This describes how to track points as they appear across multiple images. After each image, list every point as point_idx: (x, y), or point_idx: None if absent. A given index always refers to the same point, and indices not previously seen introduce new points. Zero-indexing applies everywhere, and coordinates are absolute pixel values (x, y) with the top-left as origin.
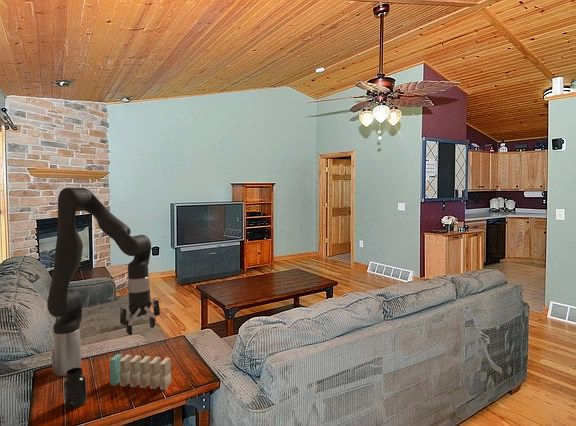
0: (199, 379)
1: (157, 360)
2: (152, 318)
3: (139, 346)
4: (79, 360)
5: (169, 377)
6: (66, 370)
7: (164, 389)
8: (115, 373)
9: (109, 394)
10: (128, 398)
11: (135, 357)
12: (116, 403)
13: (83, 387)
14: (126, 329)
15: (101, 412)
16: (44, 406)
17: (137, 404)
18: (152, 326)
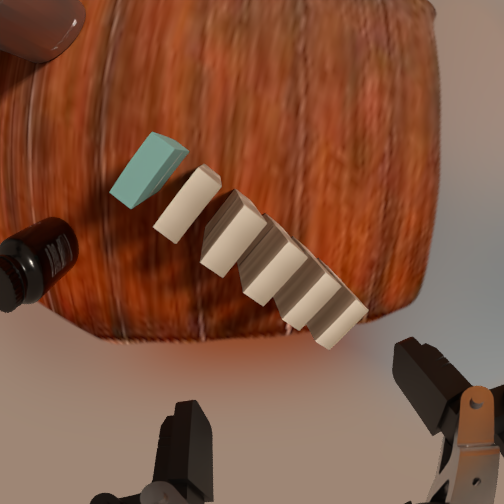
0: (393, 286)
1: (318, 310)
2: (443, 427)
3: None
4: (60, 25)
5: None
6: (33, 58)
7: None
8: (150, 195)
9: (138, 241)
10: (191, 293)
11: (235, 229)
12: (157, 301)
13: (51, 286)
14: (160, 450)
15: (121, 321)
16: (3, 220)
17: (211, 331)
18: (400, 386)
